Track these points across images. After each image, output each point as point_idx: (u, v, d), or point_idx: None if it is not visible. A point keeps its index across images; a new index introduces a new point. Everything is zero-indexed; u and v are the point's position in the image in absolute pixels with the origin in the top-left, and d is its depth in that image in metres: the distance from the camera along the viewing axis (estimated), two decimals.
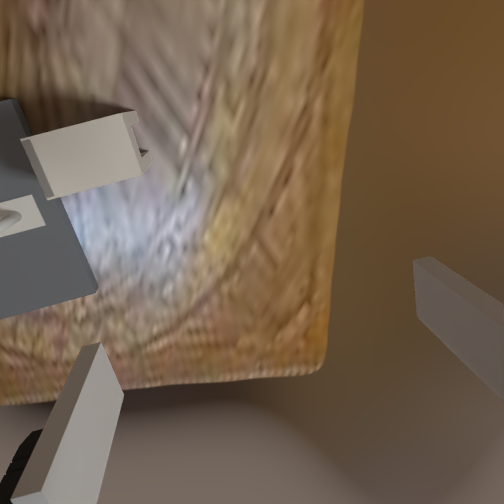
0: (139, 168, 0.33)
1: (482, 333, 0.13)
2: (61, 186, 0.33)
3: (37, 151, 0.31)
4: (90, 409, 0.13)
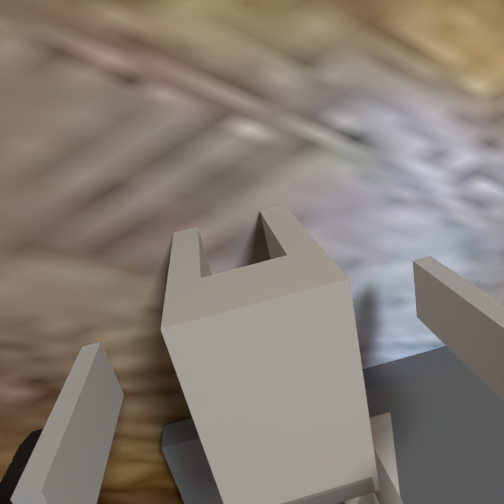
0: (328, 285, 0.10)
1: (482, 333, 0.13)
2: (351, 463, 0.13)
3: None
4: (90, 409, 0.13)
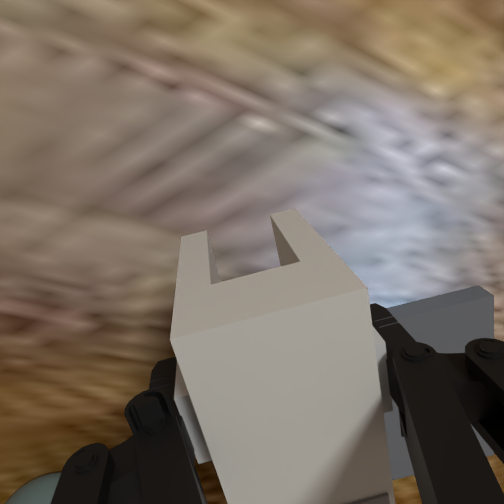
0: (345, 295, 0.10)
1: None
2: (365, 478, 0.12)
3: None
4: None
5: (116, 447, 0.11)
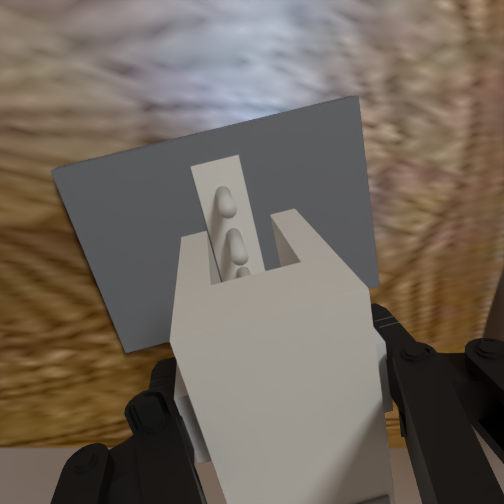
0: (346, 295, 0.10)
1: None
2: (367, 480, 0.12)
3: None
4: None
5: (116, 447, 0.11)
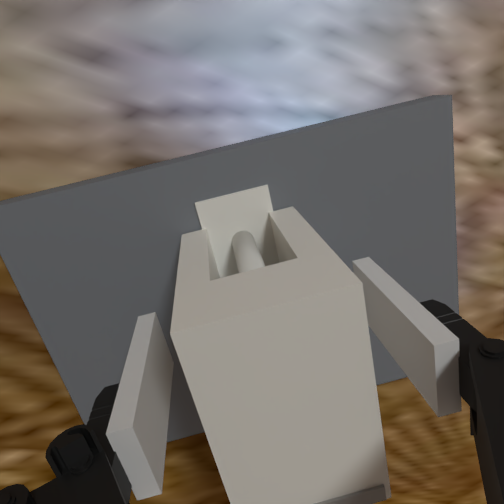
0: (340, 290, 0.10)
1: (399, 327, 0.14)
2: (362, 470, 0.13)
3: None
4: (154, 368, 0.15)
5: (42, 487, 0.11)
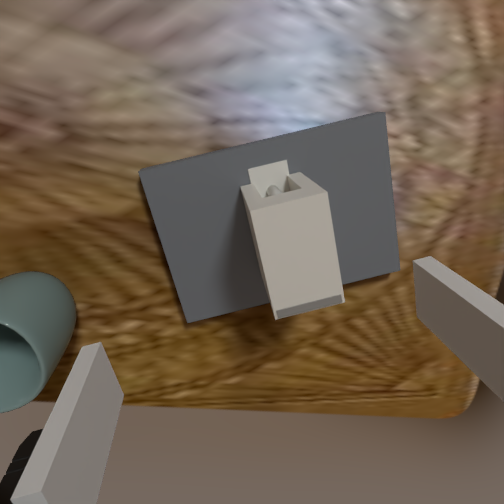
0: (318, 194, 0.25)
1: (482, 333, 0.13)
2: (330, 285, 0.27)
3: (289, 305, 0.28)
4: (90, 409, 0.13)
5: None
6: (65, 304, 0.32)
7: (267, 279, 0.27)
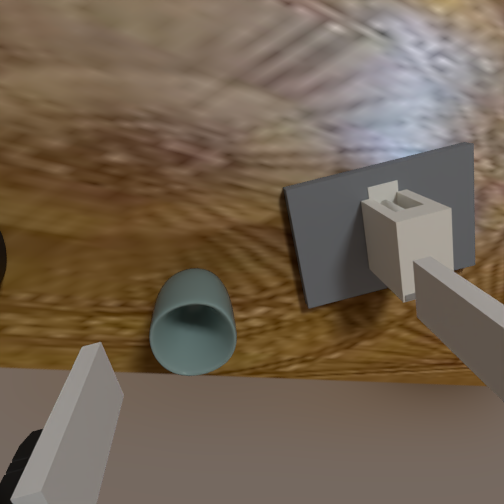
0: (444, 210, 0.35)
1: (482, 333, 0.13)
2: None
3: None
4: (90, 409, 0.13)
5: None
6: None
7: (401, 272, 0.36)
